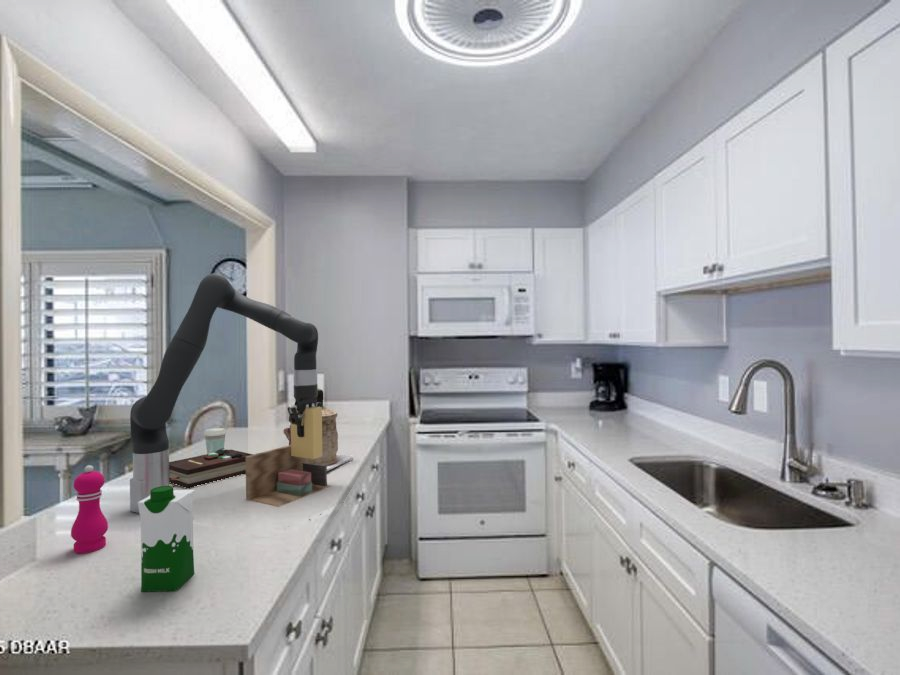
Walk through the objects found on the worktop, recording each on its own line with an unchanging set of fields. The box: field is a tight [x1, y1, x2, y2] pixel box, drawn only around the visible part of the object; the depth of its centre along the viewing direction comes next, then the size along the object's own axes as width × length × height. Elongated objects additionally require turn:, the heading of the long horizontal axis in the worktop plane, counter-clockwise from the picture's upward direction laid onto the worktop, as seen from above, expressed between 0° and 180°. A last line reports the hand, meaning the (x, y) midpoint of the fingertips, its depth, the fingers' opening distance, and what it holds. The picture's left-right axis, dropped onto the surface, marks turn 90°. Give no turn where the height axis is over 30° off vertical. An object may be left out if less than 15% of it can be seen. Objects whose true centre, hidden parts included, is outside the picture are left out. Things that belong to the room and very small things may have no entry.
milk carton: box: [138, 485, 196, 593], centre depth 99 cm, size 9×9×20 cm
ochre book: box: [290, 407, 323, 459], centre depth 158 cm, size 4×10×16 cm, turn 61°
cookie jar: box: [282, 388, 354, 472], centre depth 191 cm, size 25×25×32 cm
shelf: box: [245, 444, 331, 508], centre depth 152 cm, size 22×14×14 cm, turn 151°
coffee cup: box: [203, 427, 227, 454], centre depth 206 cm, size 8×8×12 cm
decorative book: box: [169, 447, 255, 489], centre depth 178 cm, size 19×8×30 cm
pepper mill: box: [70, 464, 109, 554], centre depth 116 cm, size 7×7×20 cm
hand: (306, 435), depth 158 cm, fingers closed on ochre book, 4 cm apart
